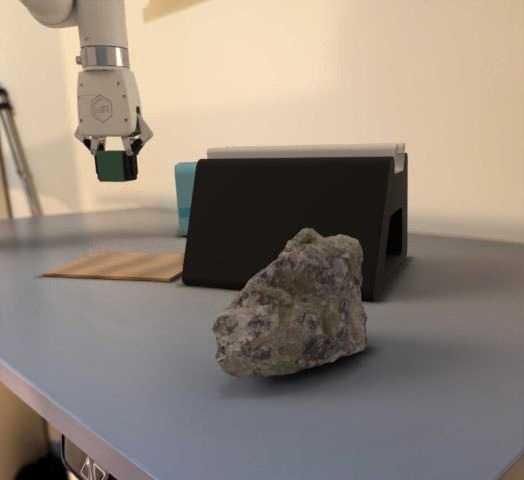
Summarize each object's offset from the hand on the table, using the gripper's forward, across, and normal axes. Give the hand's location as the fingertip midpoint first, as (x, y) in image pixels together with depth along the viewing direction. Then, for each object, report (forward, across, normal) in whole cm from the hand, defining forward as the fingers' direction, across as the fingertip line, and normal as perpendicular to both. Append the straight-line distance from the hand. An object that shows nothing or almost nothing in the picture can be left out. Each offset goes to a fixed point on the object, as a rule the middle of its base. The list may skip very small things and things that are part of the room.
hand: (117, 178), depth 94 cm
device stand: (+10, +38, -22) cm, 45 cm away
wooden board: (+10, +14, -23) cm, 28 cm away
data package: (+10, +12, +5) cm, 16 cm away
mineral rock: (+10, +43, -51) cm, 67 cm away
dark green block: (0, 0, 0) cm, 0 cm away
